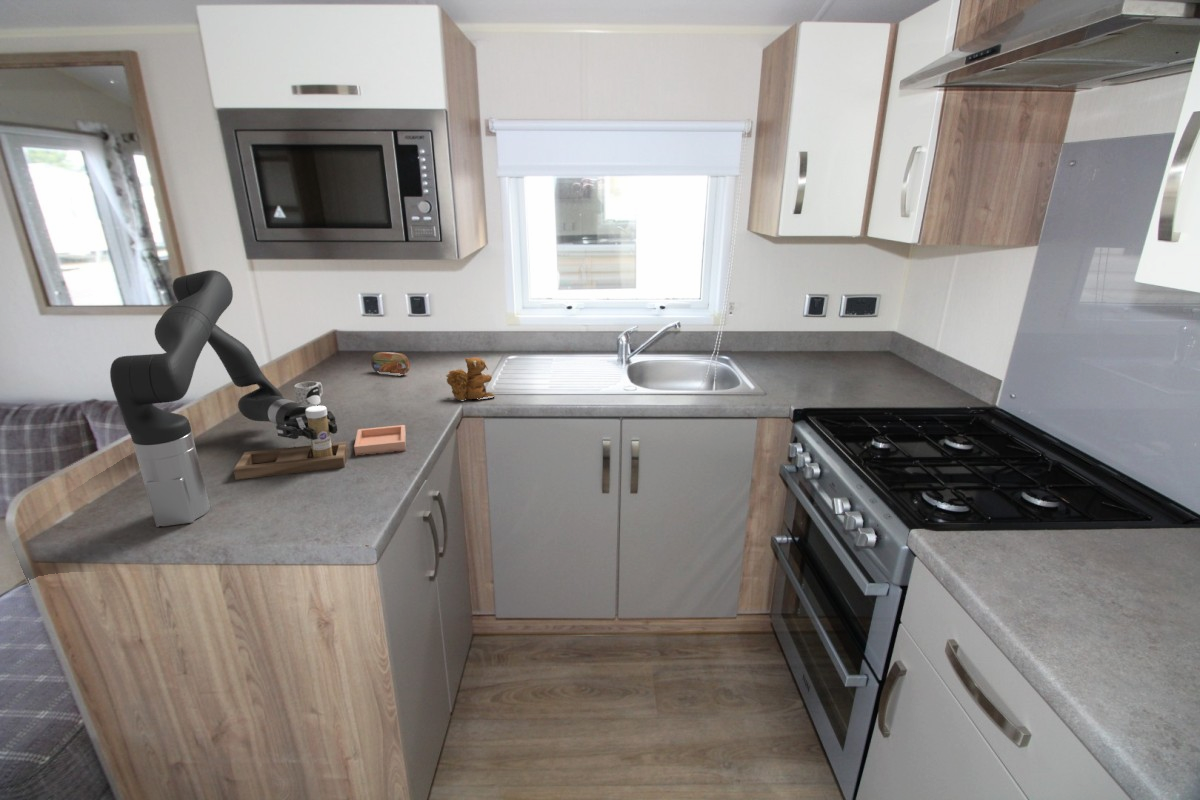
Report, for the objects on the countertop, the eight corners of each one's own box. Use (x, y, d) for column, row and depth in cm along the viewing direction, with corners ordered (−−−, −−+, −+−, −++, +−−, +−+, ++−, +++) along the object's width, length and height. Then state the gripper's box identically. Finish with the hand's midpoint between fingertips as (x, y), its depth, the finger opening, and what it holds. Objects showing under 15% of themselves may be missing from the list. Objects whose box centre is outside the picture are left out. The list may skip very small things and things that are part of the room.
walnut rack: (344, 467, 136) (343, 457, 136) (235, 479, 130) (233, 469, 129) (348, 450, 145) (347, 441, 145) (246, 461, 139) (244, 452, 138)
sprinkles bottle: (321, 464, 136) (313, 412, 132) (309, 460, 138) (300, 408, 134) (338, 458, 140) (330, 406, 136) (326, 453, 142) (318, 403, 138)
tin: (372, 373, 210) (369, 351, 207) (377, 371, 213) (374, 349, 210) (407, 377, 206) (404, 355, 203) (412, 375, 209) (410, 353, 206)
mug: (311, 409, 174) (308, 388, 172) (292, 407, 175) (288, 386, 173) (332, 398, 183) (329, 379, 181) (314, 397, 184) (310, 377, 182)
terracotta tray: (405, 450, 146) (404, 441, 145) (355, 456, 142) (354, 446, 142) (405, 433, 157) (404, 424, 156) (359, 437, 153) (357, 429, 152)
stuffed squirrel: (497, 398, 185) (495, 359, 181) (455, 405, 178) (451, 365, 174) (485, 390, 193) (483, 352, 189) (445, 396, 186) (441, 358, 182)
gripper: (258, 409, 138) (292, 426, 128) (315, 395, 149) (351, 409, 139) (263, 438, 141) (297, 456, 131) (319, 421, 151) (355, 438, 142)
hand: (325, 432), depth 135 cm, fingers closed on sprinkles bottle, 4 cm apart
